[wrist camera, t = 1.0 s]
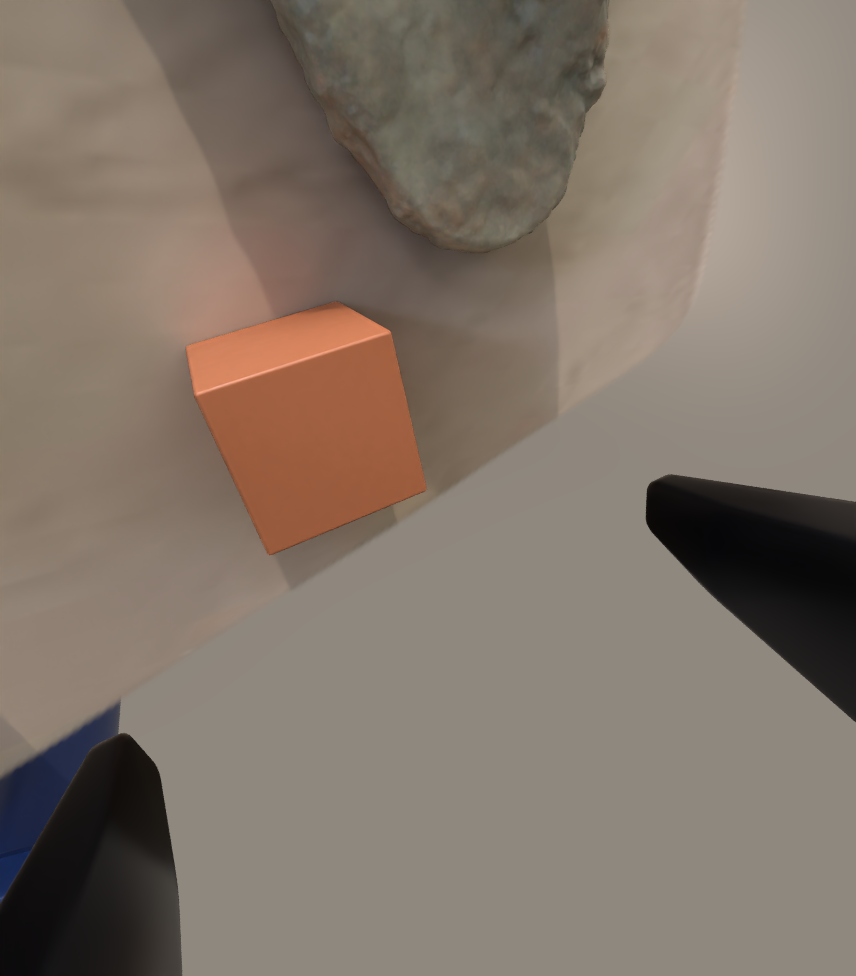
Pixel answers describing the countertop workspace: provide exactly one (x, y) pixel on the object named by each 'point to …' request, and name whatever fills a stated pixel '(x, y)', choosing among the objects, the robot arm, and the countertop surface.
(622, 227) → the countertop surface
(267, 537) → the block
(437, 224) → the elongated rock
